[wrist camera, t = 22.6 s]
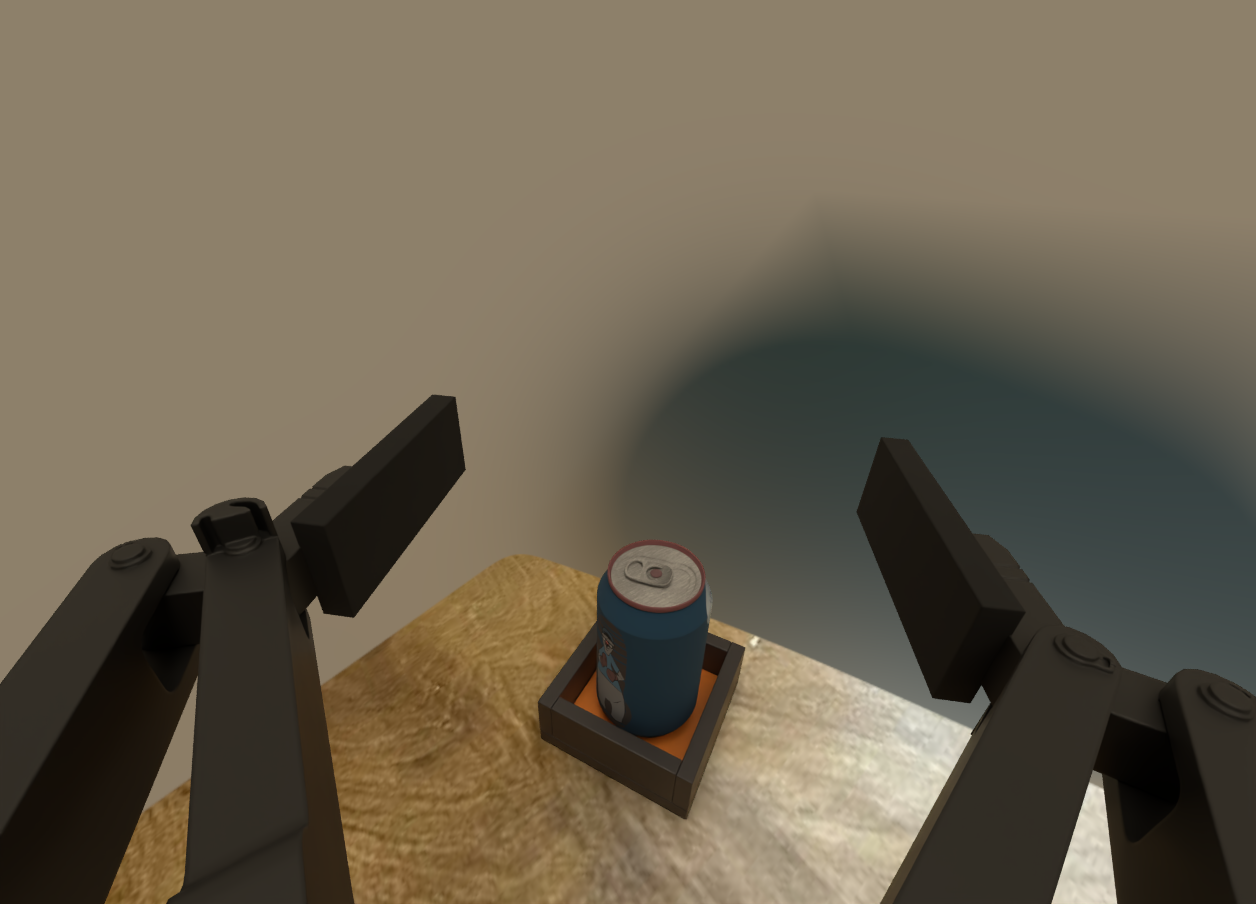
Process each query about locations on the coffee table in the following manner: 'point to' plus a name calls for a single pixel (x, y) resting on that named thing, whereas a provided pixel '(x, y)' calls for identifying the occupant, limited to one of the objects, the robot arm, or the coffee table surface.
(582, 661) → the square wooden tray
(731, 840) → the coffee table surface
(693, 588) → the soda can
